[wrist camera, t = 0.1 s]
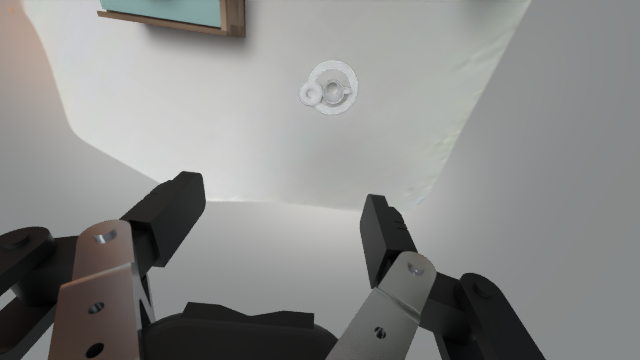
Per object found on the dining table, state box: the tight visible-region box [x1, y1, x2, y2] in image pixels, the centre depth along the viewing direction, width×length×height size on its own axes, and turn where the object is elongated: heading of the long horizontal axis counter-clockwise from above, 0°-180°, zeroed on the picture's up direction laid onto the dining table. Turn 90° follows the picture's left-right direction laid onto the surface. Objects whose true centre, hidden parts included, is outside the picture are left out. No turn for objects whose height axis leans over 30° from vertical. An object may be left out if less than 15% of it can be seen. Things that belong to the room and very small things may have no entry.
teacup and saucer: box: [299, 60, 358, 115], centre depth 35 cm, size 9×8×4 cm
